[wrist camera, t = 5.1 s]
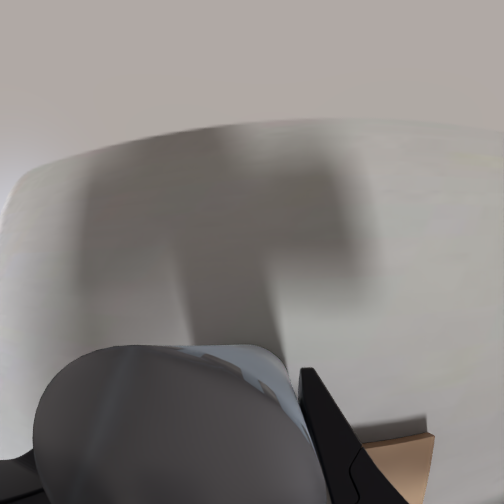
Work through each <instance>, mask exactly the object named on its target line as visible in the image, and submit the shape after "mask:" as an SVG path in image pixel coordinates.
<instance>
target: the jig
mask: <svg viewBox="0 0 504 504" xmlns="http://www.w3.org/2000/svg"><path fill="white" fill-rule="evenodd" d="M434 439H435V436H434V435H432V434H430V433H428V432H426V433H422V434H417V435H412V436H407V437H402V438H396V439H390V440H384V441H378V442H370V443H363V444H362V447H364V448H365V450H366V451H367V453H368V454H369V456H370V457H371V459H372V460H373V461H374V463H375V464H376V466H377V467H378V468H379V470H380V471H381V472H382V473H383V474H384V476H385V477H386V478H387V479H388V480H389V482H390V483H391V484H392V485H393V486H394V487H395V488H396V489H397V491H398V492H399V493H400V494H401V495H402V496H403V497H404V498H405V499H406V501H407V502H408V503H409V504H422V503H423V499H424V495H425V490H426V486H427V481H428V476H429V471H430V465H431V459H432V453H433V446H434Z"/></svg>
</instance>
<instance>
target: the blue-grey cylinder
mask: <svg viewBox="0 0 504 504" xmlns="http://www.w3.org/2000/svg"><path fill="white" fill-rule="evenodd" d="M33 451H34V458H35V463H36V467H37V471H38V474H39V477H40V480H41V483H42V485H43V488H44V490H45V492H46V494H47V497H48V498H49V500H50V502H51V504H327V494H326V485H325V480H324V476H323V473H322V470H321V466H320V463H319V460H318V458H317V455H316V452H315V449H314V446H313V443H312V441H311V438H310V435H309V432H308V429H307V427H306V424H305V421H304V418H303V415H302V412H301V409H300V407H299V404H298V401H297V398H296V395H295V392H294V390H293V387H292V384H291V381H290V378H289V375H288V372H287V370H286V368H285V366H284V365H283V363H282V362H281V361H280V359H279V358H278V357H277V356H276V355H275V354H273V353H272V352H270V351H269V350H267V349H265V348H262V347H260V346H256V345H250V344H237V345H204V346H152V345H127V346H114V347H109V348H105V349H100V350H96V351H94V352H91V353H89V354H86V355H83V356H81V357H79V358H78V359H76V360H74V361H73V362H71V363H69V364H68V365H67V366H66V367H64V368H63V369H62V370H61V371H60V372H59V373H58V374H57V375H56V376H55V377H54V378H53V379H52V381H51V382H50V383H49V384H48V386H47V388H46V389H45V391H44V393H43V395H42V397H41V399H40V402H39V404H38V407H37V410H36V414H35V419H34V424H33Z"/></svg>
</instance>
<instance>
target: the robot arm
mask: <svg viewBox="0 0 504 504" xmlns="http://www.w3.org/2000/svg"><path fill="white" fill-rule="evenodd" d="M298 404H299V407H300V409H301V412H302V415H303V418H304V421H305V424H306V427H307V429H308V432H309V435H310V438H311V441H312V443H313V446H314V449H315V452H316V455H317V458H318V460H319V463H320V466H321V470H322V473H323V476H324V480H325V485H326V494H327V504H409V503H408V502H407V501H406V499H405V498H404V497H403V496H402V495H401V494H400V493H399V492H398V491H397V489H396V488H395V487H394V486H393V485H392V484H391V483H390V482H389V480H388V479H387V478H386V477H385V476H384V474H383V473H382V472H381V471H380V470H379V468H378V467H377V466H376V464H375V463H374V461H373V460H372V459H371V457H370V456H369V454H368V453H367V451H366V450H365V448H364V447H362V443H361V442H360V440H359V439H358V437H357V436H356V434H355V432H354V431H353V429H352V428H351V426H350V425H349V423H348V421H347V420H346V418H345V417H344V415H343V414H342V412H341V410H340V409H339V407H338V406H337V404H336V403H335V401H334V399H333V398H332V396H331V395H330V393H329V391H328V390H327V388H326V387H325V385H324V384H323V382H322V380H321V379H320V377H319V376H318V374H317V372H316V371H315V369H314V368H312V367H308V368H301V369H300V376H299V386H298ZM0 504H51V502H50V500H49V498H48V497H47V494H46V492H45V490H44V488H43V485H42V483H41V480H40V477H39V474H38V471H37V467H36V463H35V458H34V451H33V449H32V450H30V451H29V452H27V453H26V454H24V455H22V456H20V457H18V458H15V459H10V460H0Z"/></svg>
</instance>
